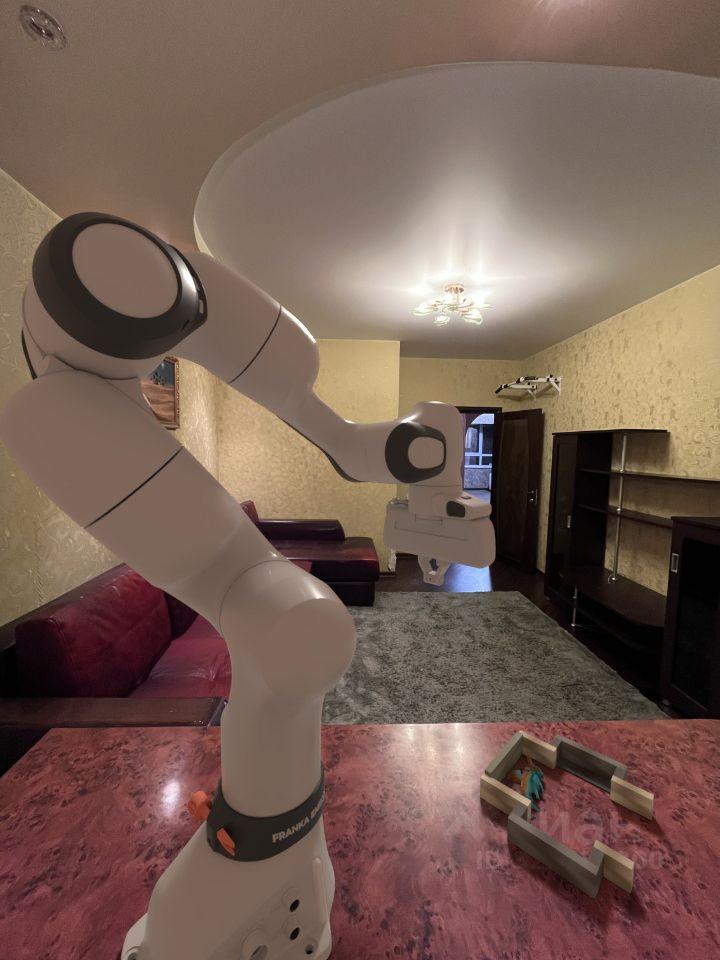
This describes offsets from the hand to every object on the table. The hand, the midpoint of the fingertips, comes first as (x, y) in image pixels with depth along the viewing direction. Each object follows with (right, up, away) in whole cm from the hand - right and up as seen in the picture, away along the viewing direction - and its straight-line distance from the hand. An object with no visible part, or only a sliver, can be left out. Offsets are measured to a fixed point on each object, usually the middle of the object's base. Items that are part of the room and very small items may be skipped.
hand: (433, 583), depth 68 cm
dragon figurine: (+13, -31, -7) cm, 34 cm away
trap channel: (+17, -30, -9) cm, 35 cm away
